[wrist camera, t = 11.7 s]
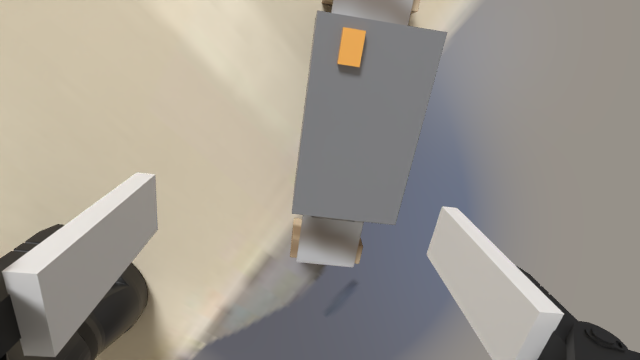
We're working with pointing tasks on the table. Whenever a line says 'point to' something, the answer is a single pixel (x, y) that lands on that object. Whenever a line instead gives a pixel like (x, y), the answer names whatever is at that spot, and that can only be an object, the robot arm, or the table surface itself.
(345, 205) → the grey box orange tab
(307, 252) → the keyhole board
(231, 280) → the table surface
